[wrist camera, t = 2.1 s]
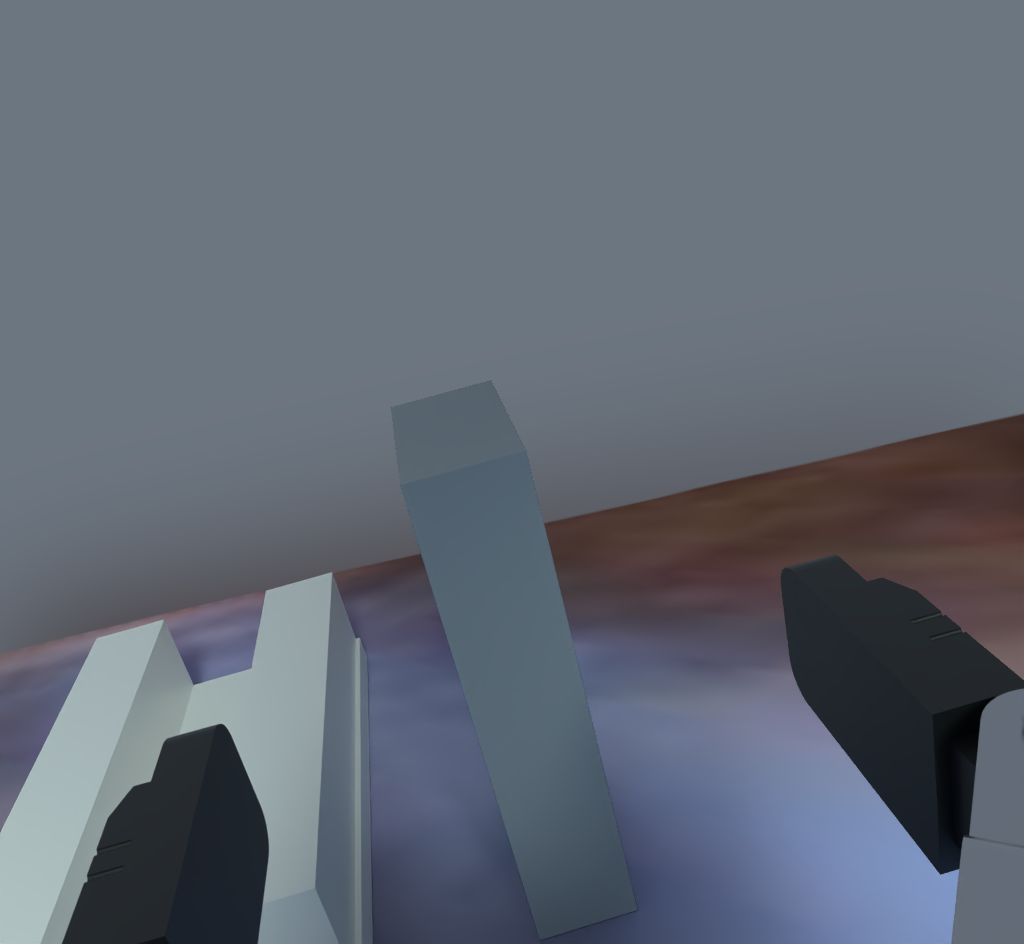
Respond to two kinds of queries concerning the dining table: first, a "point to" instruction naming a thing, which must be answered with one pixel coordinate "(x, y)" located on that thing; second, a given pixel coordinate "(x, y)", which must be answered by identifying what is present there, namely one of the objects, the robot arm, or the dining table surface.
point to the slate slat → (513, 651)
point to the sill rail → (263, 750)
